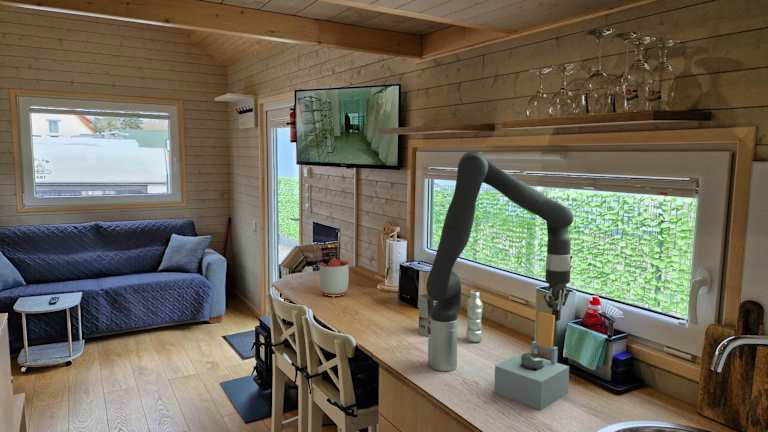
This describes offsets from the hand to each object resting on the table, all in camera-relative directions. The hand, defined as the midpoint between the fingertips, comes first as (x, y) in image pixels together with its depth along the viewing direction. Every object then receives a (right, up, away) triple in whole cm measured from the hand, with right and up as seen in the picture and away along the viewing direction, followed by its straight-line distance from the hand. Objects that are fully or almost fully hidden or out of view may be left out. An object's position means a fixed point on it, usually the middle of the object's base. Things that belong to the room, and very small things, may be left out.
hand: (556, 320), depth 171 cm
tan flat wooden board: (-5, -3, -5) cm, 8 cm away
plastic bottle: (-20, -16, +38) cm, 46 cm away
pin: (-10, -21, -7) cm, 24 cm away
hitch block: (-10, -21, -7) cm, 24 cm away
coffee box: (-36, -15, +48) cm, 62 cm away
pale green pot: (-82, -8, +108) cm, 136 cm away
